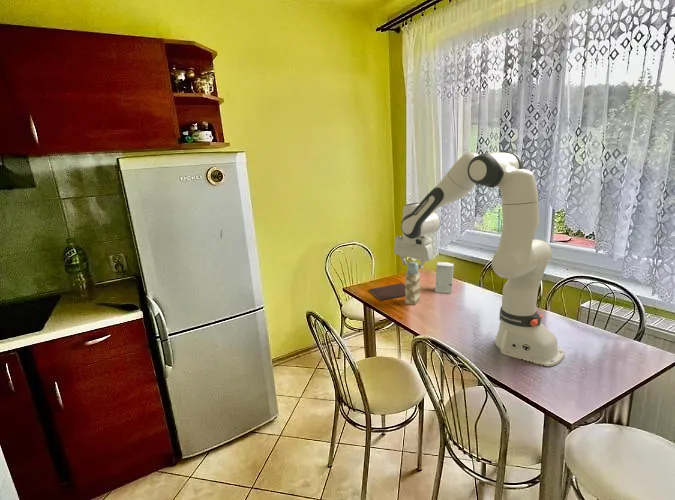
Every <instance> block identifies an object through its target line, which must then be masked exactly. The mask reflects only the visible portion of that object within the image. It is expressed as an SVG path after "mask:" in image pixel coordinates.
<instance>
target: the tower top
mask: <svg viewBox="0 0 675 500" xmlns="http://www.w3.org/2000/svg"><path fill="white" fill-rule="evenodd" d="M420 277H421V275H420V272H419V271H418V274H416V275H409V274H407V272H406V273H405V283H406V284H409V285H415V286H416V285H417V284H418V283H421V282H420Z"/></svg>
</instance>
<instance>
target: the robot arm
mask: <svg viewBox="0 0 675 500" xmlns="http://www.w3.org/2000/svg"><path fill="white" fill-rule="evenodd" d="M475 185H478V186H483V187H488V188H491V189H494V188H496V187H497V188H498V189H499V190H500V193H501V209H502V210H501V211H502V212H501V214H502V230H501V234H500V235H501V236H500V239H499V243H498V247H497V250H496V252H495V253H494V255H493V256H492V259H491V268H492V270H493V272H494V273H495V274H496V275H497V276H498V277H500V278H502V279H507V281H506V282H505V283H504V285H503V287H502V294H501V295H502V296H501V297H502V299H501V306H500V309H499V327H498V330H497V333H496V334H497V335H496V337H495V339H494V344H495V346H496V347H497V348H498V349H499V351H500V354H501V355H504V356H507V357H509V358H510V357H511V358H514V359H518V360H521V359H523V360H522V361H525V360H526V361H525V362H529V361H530V362H529V363H532V362H533V364H535V365H539V364H540V366H543V365H544V367H554V366H556V365H558V364H560V363H561V362H562V360H563V359H564V357H565V351H564V349H563V348H562V347H560V346H558V340H557V336H556V335H555V334H554V333H553V332H552V331H550V330H549V328H547V327H546V326H545V325H544V324H543V323H542V318H543V314H542V313H541V314H540V315H539V313H538V312H537V301H538V295H539V294H538V292H539V290H540V289H539V288H540V286H541V282H542V279H543V276H544V273H545V270H546V268H547V266H548V264H549V262H550V261H551V259H552V256H553V251H552V248H551V246H550V245H549V244H548V243H547V242H546V241H544V240H542V239H534V236H535V234H536V231H537V229H538V228H539V226H540V209H539V207H540V206H539V194H538V185H537V182H536V177H535V174H534V173H533V172H532V171H531V170H529V169H526V168H525V169H524V162H523V159H522V158H521V157H520V156H519V155H518V154H516V153H514V152H512V151H511V152H510V151H505V152H502V151H501V152H500V151H493V152H487V153H480V154H479V153H477V152H475V151H474V152H473V151H468V152H466V153H464V154H463V155H462V156H460V157H459V159H458V160H456V162H455V163H453V165H452V167H451V168H450V169H449V170H448V172H447V173H446V174H445V176H443V178H442V179H441V180H440V181H439V182H438V184H436V186H435V187H434V188H432V190H430V192H429V193H427V195H426V196H425V197H423V199H422V200H421V201H420V202H412V203H407V204H405V205H404V206H403V210H402V221H401V224H400V228H401V231H402V235H397V236H395V238H394V247H393V252H394V254H395V255H397V256H400V259H401V261H402V265H403V266H407V263H408V260H406V258H409V259H410V258H411V259H414V260H420V264H418V269H420V270H422V269H424V265H425V263H426V262H429V261H432V260H433V258H434V249H433V245H432V242H433V238H431V237H430V236H427V235H429V234H433V233H436V232H437V231H439V230H440V228H441V219H440V216H439V215H438V213H436V212H435V211H436V210H437V209H439V208H441V207H442V206H445V205H447V204H451V203H453V202H457V201H459V200H460V199H462V198H464V197H465V196H467V194H469V192H471V190H472V189H473V188H474V186H475Z"/></svg>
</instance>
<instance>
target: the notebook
mask: <svg viewBox="0 0 675 500" xmlns="http://www.w3.org/2000/svg"><path fill="white" fill-rule="evenodd" d="M368 292H370V293H371V294H372V295H373V296H374V297H375V298H377V300H379V301H380V302H384V301H389V300H393V299H398V298H403V297H406V294H405V283H403V282H402V283H396V284H389V285H385V286H378V287H375V288H373V287H372V288H369V289H368Z"/></svg>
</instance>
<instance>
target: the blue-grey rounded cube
mask: <svg viewBox="0 0 675 500" xmlns="http://www.w3.org/2000/svg"><path fill="white" fill-rule="evenodd" d="M406 266H407V268H406V269H407V270H406V271H407V272H406V273H407V274H409V275H416V274H418V272H419V262H418V261H407V265H406Z"/></svg>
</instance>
